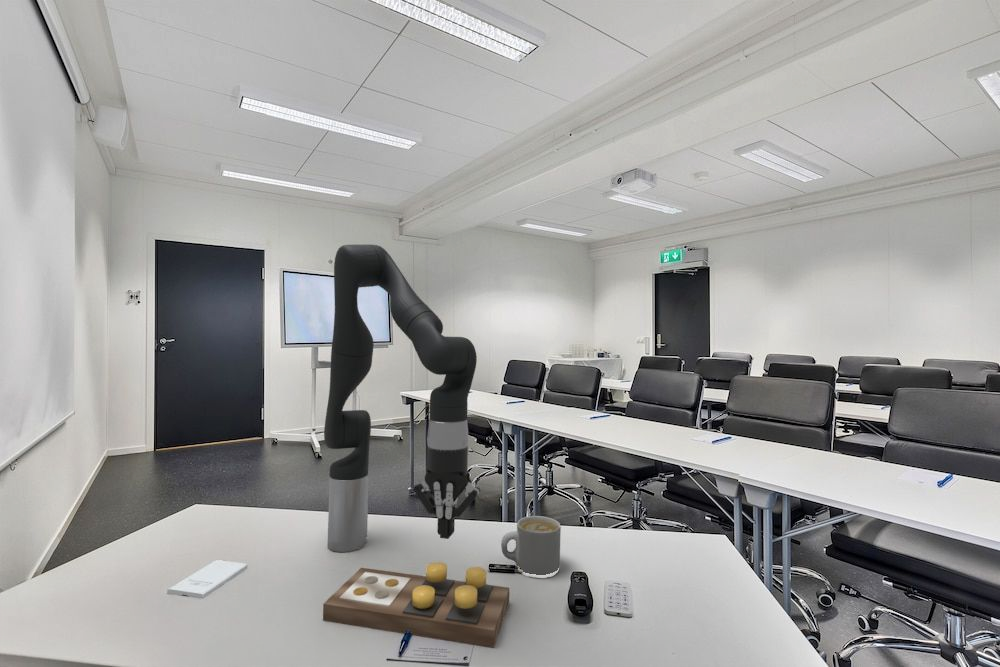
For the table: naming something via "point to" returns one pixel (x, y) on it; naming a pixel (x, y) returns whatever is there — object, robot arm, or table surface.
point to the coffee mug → (535, 545)
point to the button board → (390, 608)
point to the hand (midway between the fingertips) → (445, 536)
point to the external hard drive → (208, 579)
